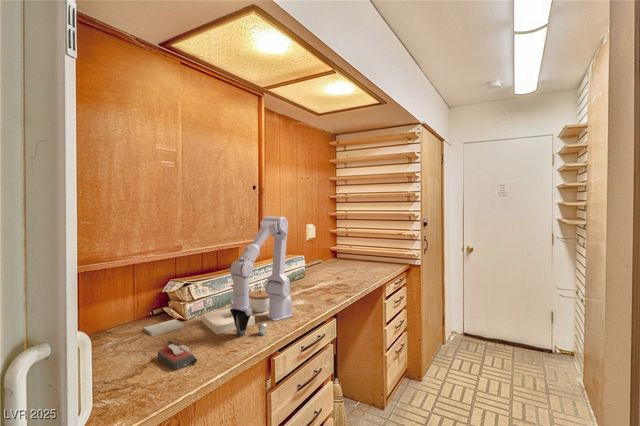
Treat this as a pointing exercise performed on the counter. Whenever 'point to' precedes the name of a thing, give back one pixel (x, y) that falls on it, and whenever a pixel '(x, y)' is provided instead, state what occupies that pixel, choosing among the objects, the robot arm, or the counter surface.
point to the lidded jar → (259, 301)
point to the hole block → (222, 321)
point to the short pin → (262, 328)
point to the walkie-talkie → (176, 356)
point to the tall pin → (238, 332)
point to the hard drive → (163, 327)
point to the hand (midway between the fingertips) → (240, 328)
